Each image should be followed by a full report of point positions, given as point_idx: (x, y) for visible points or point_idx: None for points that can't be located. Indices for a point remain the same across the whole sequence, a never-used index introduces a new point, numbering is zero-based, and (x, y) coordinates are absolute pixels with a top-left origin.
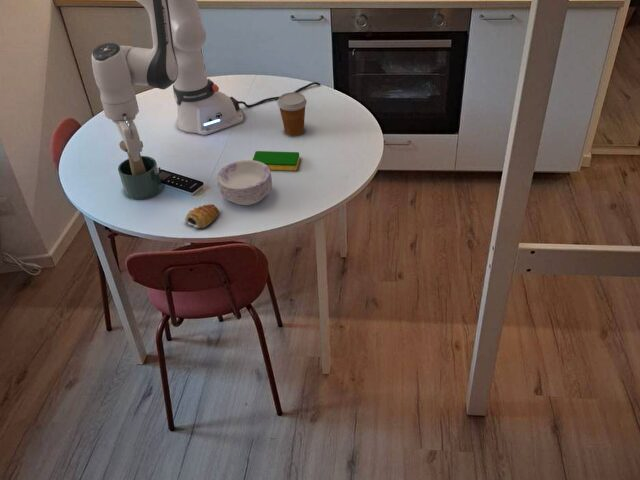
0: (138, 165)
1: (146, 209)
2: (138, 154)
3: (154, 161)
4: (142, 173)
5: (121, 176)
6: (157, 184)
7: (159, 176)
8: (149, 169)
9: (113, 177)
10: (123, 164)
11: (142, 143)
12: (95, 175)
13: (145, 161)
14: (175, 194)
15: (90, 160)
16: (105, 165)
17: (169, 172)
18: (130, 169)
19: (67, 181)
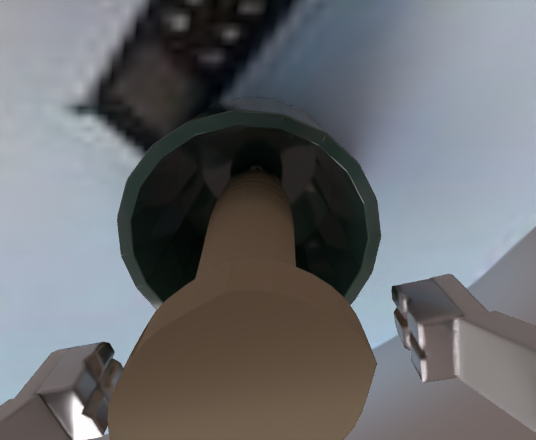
0: (292, 245)
1: (426, 173)
2: (507, 318)
3: (213, 125)
4: (286, 206)
5: None
6: (310, 117)
7: (257, 101)
8: (168, 162)
9: (141, 302)
10: None
11: (255, 283)
12: (119, 357)
13: (148, 189)
14: (353, 21)
15: (11, 377)
16: (47, 332)
17: (122, 51)
18: (179, 263)
19: None
